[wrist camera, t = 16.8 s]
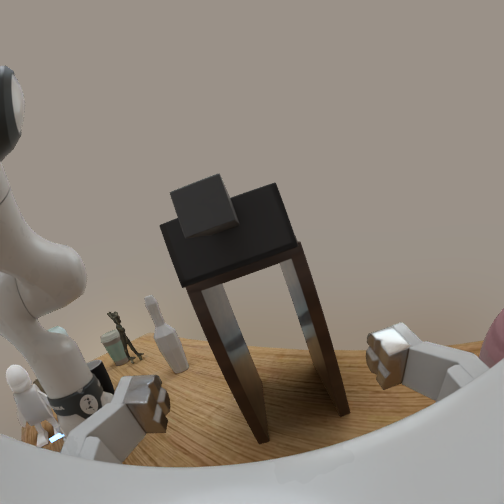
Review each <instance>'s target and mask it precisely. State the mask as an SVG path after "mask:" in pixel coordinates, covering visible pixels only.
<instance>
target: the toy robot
mask: <svg viewBox="0 0 504 504" xmlns="http://www.w3.org/2000/svg"><path fill="white" fill-rule="evenodd" d="M6 380H7V383H8V385H9V387H10V388H11V390H12V392H14V394H13V396H14V399H15V402H16V404H17V416H18V421H19V423H20V425H21V426H22V427H25V426H26V421H27V422H28V424H29V425H31V426H33V425H34V426H35V428H36V430H37V432H38V433H39V434H38V436H37V447H42V446H44V445H46V444H48V443H49V440H48V432H47V431H46V430H44V429H43V427H42V426H41V422H42V421H44V420H46V421H48V422H49V423H50V424H51V425H52V426H53V429H54V434H55V435H57V434H58V432H57V431H56V428H57V427H58V426H60V425H59V422H57V420H56V419H55V418H54V417H53V413H52V410H51V408H52V407H51V406H50V404H49V401H48V399H47V395H46V394H45V393H43V392H41V391H40V389H39V388H38V386H37V385H36V384H33V385H31V383H32V381H31V379H30V377H29V375H28V373H27V372H26V370H25V369H24V368H23V367H21V366H20V365H11V366H10V367H9V368H8V369H7V371H6ZM52 409H53V408H52ZM60 438H62V437H60Z"/></svg>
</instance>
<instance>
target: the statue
mask: <svg viewBox="0 0 504 504" xmlns="http://www.w3.org/2000/svg"><path fill="white" fill-rule="evenodd" d="M107 315H108V316H109V317H110V318H111V319H112V320H113V321H114V323H116V328H117V330H118V332H119V334H120V340H121V342H122V345H123V347H124V352H125V354H126V356H127V357H128V359H129V360H130V361H131V363H132V364H134V362H133V359H135V357H130V356H129V353H128V350H127V344H128V345H129V346H130V348H131V350H132V351H133V352H134V353H135V354H136V355H137V356H138V357H139V358H140V360H142V357H141V355H143V354H144V353H138V352H137V351H136V350H135V348H134V347H133V345H132V343H131V342H130V340H129V339H128V337H127V336H126V334H125V329H124V328H122V326H121V325H120V323H121V320H120V317H119V316H118V313H117V312H114V313H111V312H109V313H107Z"/></svg>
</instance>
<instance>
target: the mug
mask: <svg viewBox="0 0 504 504" xmlns="http://www.w3.org/2000/svg"><path fill="white" fill-rule="evenodd" d="M86 364H87V365H88V367H89V369H90V371H91V373H93V374H94V375H95V376H96V378H97V379H98V380H99V382H100V385H101V386H102V388H103V391H104V392H108V393H111V394H113V395H114V388H113V385H112V382H111V380H110V377H109V375H108V373H107V371H106V369H105V367H104V365H103V363H102V361H101V360H94V361H91V362H89V363H86Z"/></svg>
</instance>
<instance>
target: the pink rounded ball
mask: <svg viewBox="0 0 504 504" xmlns="http://www.w3.org/2000/svg"><path fill="white" fill-rule="evenodd" d="M503 358H504V309H503V310H502V311H501V312H500V313H499V314H498V316H497V317H496V319H495V320H494V322H493V323H492V325H491V327H490V329H489V330H488V332H487V334H486V337H485V339H484V342H483V345H482V348H481V351H480V356H479V359H480V360H481V361H483V362H484V363H485V364H486V365H487V366H488V367H489V368H491V367H493V366H494V365H495V364H497V363H498V362H499V361H501V360H502V359H503Z"/></svg>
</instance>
